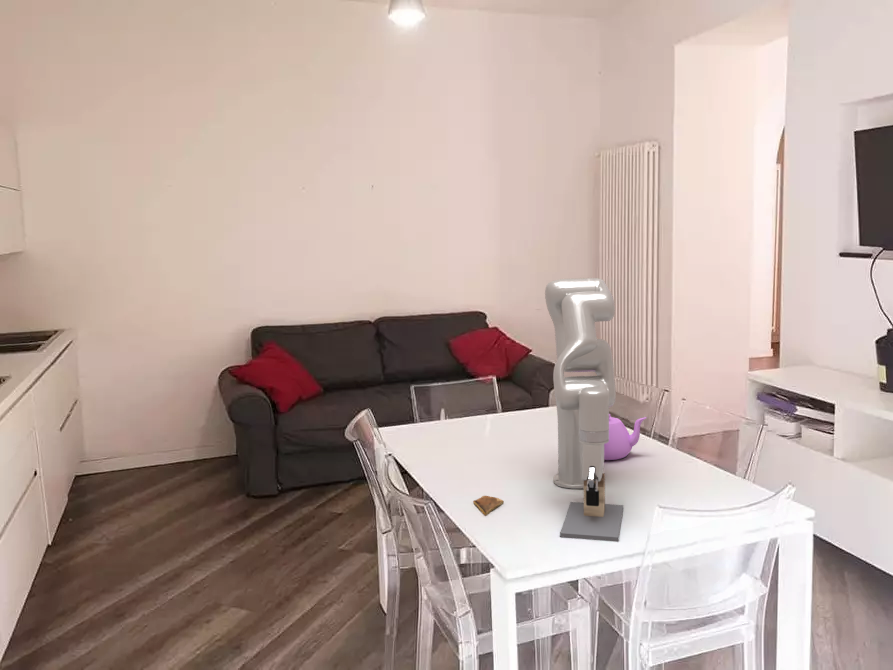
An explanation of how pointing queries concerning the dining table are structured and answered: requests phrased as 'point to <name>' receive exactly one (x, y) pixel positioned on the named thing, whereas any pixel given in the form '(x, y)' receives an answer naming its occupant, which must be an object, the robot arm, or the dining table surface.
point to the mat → (592, 523)
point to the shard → (487, 504)
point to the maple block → (601, 508)
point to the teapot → (620, 439)
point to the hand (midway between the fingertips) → (594, 498)
